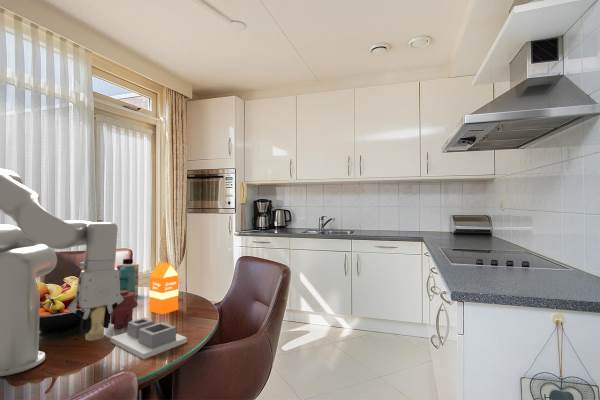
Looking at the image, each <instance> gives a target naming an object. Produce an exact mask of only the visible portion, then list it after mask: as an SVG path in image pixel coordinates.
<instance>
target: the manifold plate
mask: <svg viewBox="0 0 600 400" xmlns="http://www.w3.org/2000/svg"><path fill="white" fill-rule="evenodd" d="M187 341H188V339H187V337H186V336H184V335H181V334H179V333H177V326H174V325H171V324H168V323H166V322H163V321H162V322H161V321H160V322H157V323H155V324H154V320H152V319H149V318H147V317H142V318H138V319H135V320H132V321H131V322H128V326H127V332H123V333H121V334H117V335H114V336H110V343H112V344H113V345H115V346H118V347H119V348H121V349H122V350H125V351H127V352H129V353H131V354H133V355H135V356H136V357H139V358H141V359H142V360H146V359H148V358H150V357H153V356H156V355H159V354H160V353H163V352H166V351H168V350H171V349H173V348H177V347H179V346H181V345H183V344H186V343H187Z"/></svg>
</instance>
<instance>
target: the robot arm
mask: <svg viewBox="0 0 600 400" xmlns="http://www.w3.org/2000/svg"><path fill="white" fill-rule="evenodd" d="M40 201H41V196H40V195H39V194H38V193H37V192H36V191H34V190H32V189H30V188H28V187H27V186H25V185H24V182H23V179H22V178H21V176H20V175H18V173H16V172H14V171H12V170H9V169H5V168H0V212H1V213H3V214H5V215H6V216H8V217H10V218H11V219H12V220H13V223H14V224H15V225H12V224H8V223H7V224H6V223H4V224H2V223H1V224H0V377H6V376H11V375H14V374H15V375H16V374H18V373H21V372H25V371H28V370H30V369H33V368H35V367H37V366H38V365H40V364H41V363H43V362H44V361H45V359H46V353H45V352H44V351H42V350H41V351H40V350H39V349H40V348H39V347H40V345H39V344H40V343H39V341H40V340H39V339H40V337H39V336H40V306H41V305H40V304H41V303H40V301H41V300H40V297H41V296H40V289H39V286H38V283H37V281H36V279H38V278H40V277H43V276H45V275H48V274H49V273H51V272H52V271H53V270H54V269H55V268H56V266H57V263H58V257H57V254H56V252H55V251H54V249H55V250H65V249H66V250H67V249H71V248H74V247H79V246H85V250H84V259H83V262H79V263H78V268H81V269H83V270H81V271H80V275H79V277H78V282H77V284H76V292H75V298H74V299H73V300H72V301H71V303H70V304H69V305H68V306H67V311H69V312H71V313H73V314H76V315H77V316H79V318H80V327H79V329H80V330H81V332H83V333H84V334H86V333H88V332H89V327H90V319H89V318H88V315H89V312H90V309H91V308H95V307H100V306H105V305H106V312H105V326H104V329H108V328H109V326H110V325H111V313H112V312H113V310H114V309H115V308H116V307H117V305H118V304H120V303H121V302H122V301H123V300H124V298H123V297H122V296H121V294H120V281H119V272H118V269H117V267H116V259H117V258H116V256H117V254H116V253H117V242H118V225H117V223H115V222H112V221H111V222H110V221H93V222H92V221H87V220H80V219H79V220H78V219H74V220H73V219H72V220H63V219H60V218H59V217H57V216H55V215H54V214H53V213H50V212H49V211H47V210H46V209H44V208H43V207H42V206H41V205H40ZM77 306H78V307H80V309H79V308H77Z"/></svg>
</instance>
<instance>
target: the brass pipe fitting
mask: <svg viewBox="0 0 600 400" xmlns="http://www.w3.org/2000/svg"><path fill="white" fill-rule="evenodd" d="M105 312H106V305H105V306H100V307H95V308H91V309H90V312H89V315H88V318H89V319H90V327H89V332H88V333H85V338H84V339H85V340H86V341H89V342H90V341H97V340H101V339H103V338H104V336H105V328H104V326H105Z"/></svg>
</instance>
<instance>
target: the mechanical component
mask: <svg viewBox="0 0 600 400" xmlns="http://www.w3.org/2000/svg"><path fill="white" fill-rule="evenodd" d="M120 294H121V296H122V297H123V298H124V300H123V301H122V302H121V303H120V304H118V305H117V307H116V308H115V309H114V310H113V312H112V313H111V317H110V325H113V329H114V330H117V329H119V328H124V327H128V322H131V321H134V320H133V311H134V310H133V309H135V308H136V307H138V300H136V296H135V293H134V292H128V291H127V290H123V291H120Z"/></svg>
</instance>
